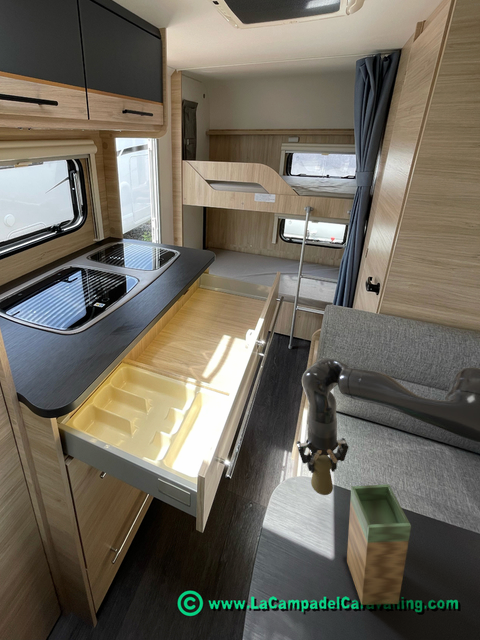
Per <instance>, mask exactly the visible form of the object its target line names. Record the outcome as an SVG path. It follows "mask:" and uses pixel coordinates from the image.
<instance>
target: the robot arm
mask: <svg viewBox="0 0 480 640" xmlns="http://www.w3.org/2000/svg"><path fill="white" fill-rule="evenodd" d="M301 385H302V388H303V392H304V394H305V397H306V400H307V415H306V427H307V430H306V431H307V438H306V440H305V442H301V441H300V440H298V441H296V448H297V450H298V453H299V456H300V459H301V461H302V464H306V466H307V470H308V472H310V473H311V474H313V473H314V461H315V460H317V459H318V457H319V456H321V455H328V457H329V458H330V460H331V463H332V467H331V469H330V471H331V473H333V472H334V473H335V472H336V471H337V469H338V462H339V461H340V462H344V461H345V459H346V456H347V453H348V450H349V448H350V447H349V445H348V443H347V440H346V438H344V437H342V438H340V440H339V439H338V418H337V399H336V397H335V395H334V394H333V393H332V392H331V391H332V390H333V389H335V388H336V387H337V386H338V389H339V392H340V393H341V394H342V395H343V396H344V397H345V398H347V399H351V400H355V401H359V402H363V403H367V404H372V405H376V406H379V407H382V408H386V409H389V410H392V411H395V412H397V413H400V414H402V415H404V416H407V417H410V418H412V419H414V420H417V421H420V422H422V423H424V424H427V425H429V426H432V427H434V428H437V429H439V430H442V431H445V432H447V433H450V434H453V435H455V436H457V437H460V438H463V439H466V440H469V441H471V442H475V443H478V444H480V367H474V366H473V367H463V368H462V369H460V370H458V371H457V372H456V374H455V375H454V376H453V378H452V379H451V381H450V385H449V388H448V390H447V393H446V397H445V399H444V400H443V399H442V400H441V399H432V398H426V397H423V396H420V395H418V394H416V393H414V392H413V391H411V390H409V389H408V388H407V387H405V386H403V385H402V384H401V383H400V382H399V381H397V380H396V379H395V378H392V377H391V376H390V375H388V374H385V373H383V372H380V371H377V370H371V369H365V368H360V367H352V366H350V365H349V364H346V363H343V362H341V361H339V360H337V359H334V358H331V357H323V358H319V359H318V360H316V361H314V363H313V364H312V365H311V366H310V367H308V368H307V369H306V370H305V371H304V373H303V374H302V377H301ZM307 449H308V451H307V453H306V450H307ZM336 449H337V450H336ZM335 450H336V452H335ZM305 453H306V454H305Z"/></svg>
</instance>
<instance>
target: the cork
mask: <svg viewBox="0 0 480 640" xmlns="http://www.w3.org/2000/svg"><path fill="white" fill-rule="evenodd" d="M331 467H332V463H331V460H330V456H329V455H321V456H319V457H318V459H317V460H315V461H314V473H311V474H312V475H311V480H310V484H311V487H312V489H313V490H314V491H315V492H316V493H317V494H319V495H321V496H328V495H330V494H331V493H332V492H333V490H334V484H333V479H332V474H331V473H332V472H331Z"/></svg>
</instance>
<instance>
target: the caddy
mask: <svg viewBox="0 0 480 640" xmlns="http://www.w3.org/2000/svg"><path fill="white" fill-rule="evenodd" d="M349 501H350V502H349V503H350V505H349V518H348V519H349V520H348V536H347V537H348V538H347V553H346V563H347V565H348V569H349V572H350V574H351V578H352V580H353V584H354V586H355V589H356V593H357V596H358V598H359V601H360V604H361V605H362V606H365V605H398V604H399V603H400V596H401V590H402V584H403V577H404V572H405V568H406V567H405V566H406V561H407V560H406V559H407V554H408V548H409V542H410V536H411V530H412V524H411V523H410V521H409V519H408V517H407V515H406V514H405V512H404V509H403V508H402V506H401V504H400V501H399V500H398V499H397V496H396V495H395V493H394V491H393V488H392V487H391V485H390V484H389V483H387V484H386V483H385V484H369V485H354V486H353V485H352V486H351V487H350V500H349Z"/></svg>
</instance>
